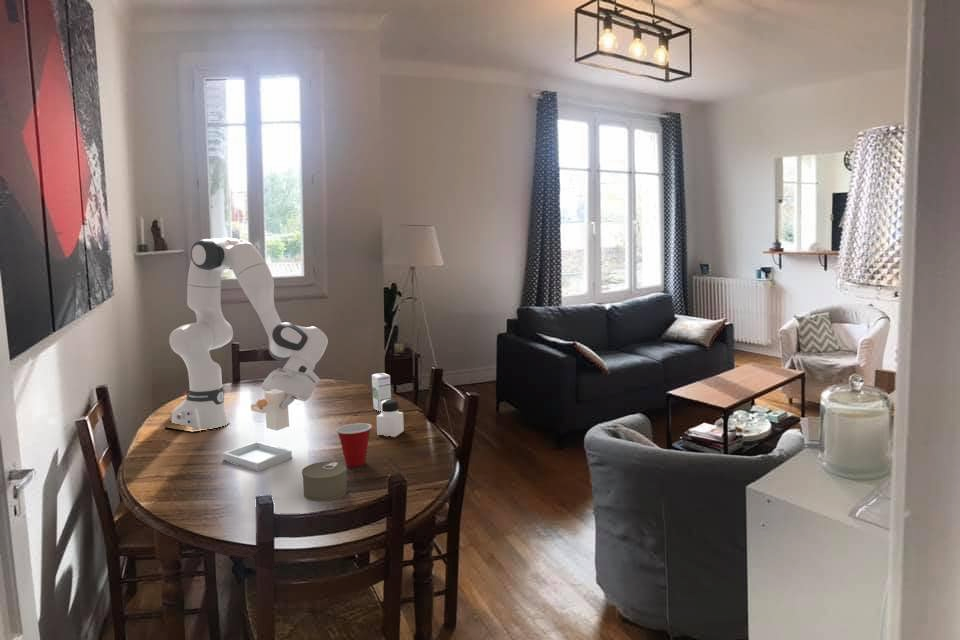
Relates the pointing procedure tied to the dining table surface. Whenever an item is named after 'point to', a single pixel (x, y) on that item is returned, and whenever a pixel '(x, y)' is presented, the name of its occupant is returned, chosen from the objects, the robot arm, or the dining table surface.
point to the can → (324, 481)
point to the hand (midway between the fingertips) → (275, 406)
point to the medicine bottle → (390, 419)
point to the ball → (261, 403)
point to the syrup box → (380, 389)
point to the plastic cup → (354, 443)
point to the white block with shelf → (274, 410)
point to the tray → (257, 455)
